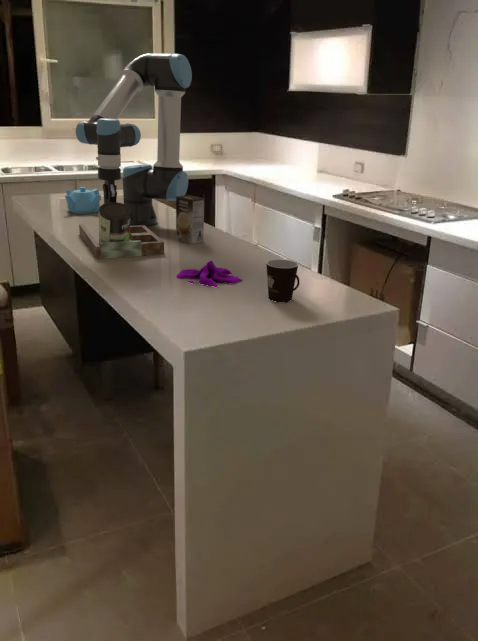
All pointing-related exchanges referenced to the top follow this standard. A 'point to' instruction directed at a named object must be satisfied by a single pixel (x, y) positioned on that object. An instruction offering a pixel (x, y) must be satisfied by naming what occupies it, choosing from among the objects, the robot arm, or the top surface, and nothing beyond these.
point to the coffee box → (189, 219)
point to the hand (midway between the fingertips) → (110, 236)
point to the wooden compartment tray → (125, 244)
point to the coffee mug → (281, 279)
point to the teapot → (83, 201)
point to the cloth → (209, 275)
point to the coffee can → (114, 222)
